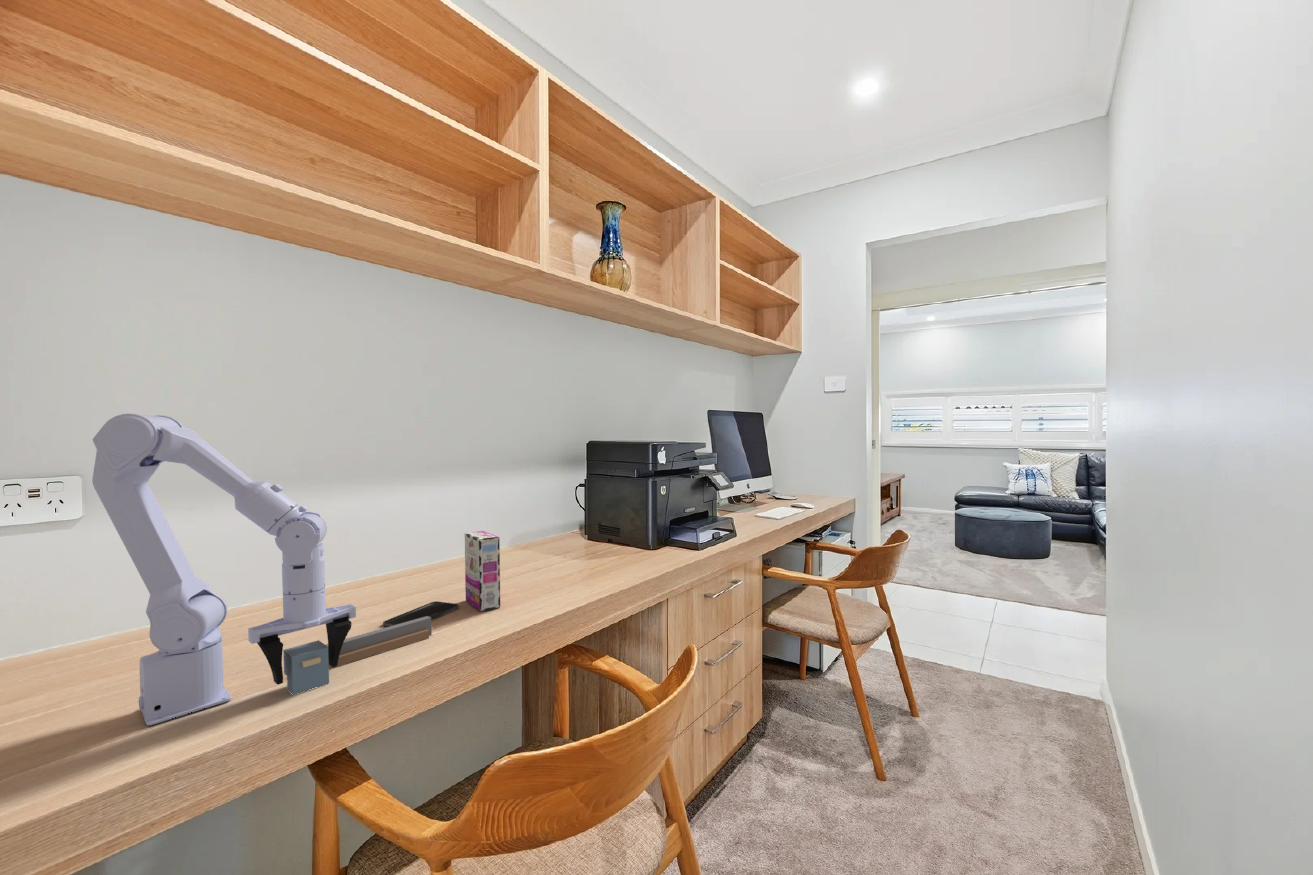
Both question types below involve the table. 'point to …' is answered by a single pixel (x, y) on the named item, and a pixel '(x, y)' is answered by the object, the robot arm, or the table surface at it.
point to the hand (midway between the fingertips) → (306, 673)
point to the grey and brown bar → (384, 640)
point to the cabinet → (306, 666)
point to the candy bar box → (482, 570)
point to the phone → (423, 613)
